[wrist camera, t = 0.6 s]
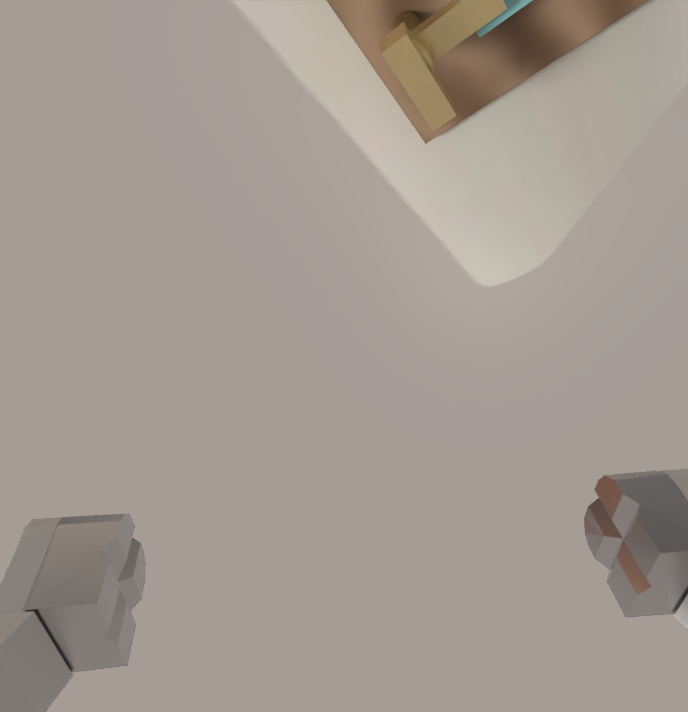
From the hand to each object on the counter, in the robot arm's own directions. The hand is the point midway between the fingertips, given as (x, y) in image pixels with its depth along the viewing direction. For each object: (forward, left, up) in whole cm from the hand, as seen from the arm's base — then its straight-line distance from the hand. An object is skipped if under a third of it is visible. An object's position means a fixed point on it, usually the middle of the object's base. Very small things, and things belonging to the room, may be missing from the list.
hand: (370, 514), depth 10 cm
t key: (-2, +11, -45) cm, 47 cm away
